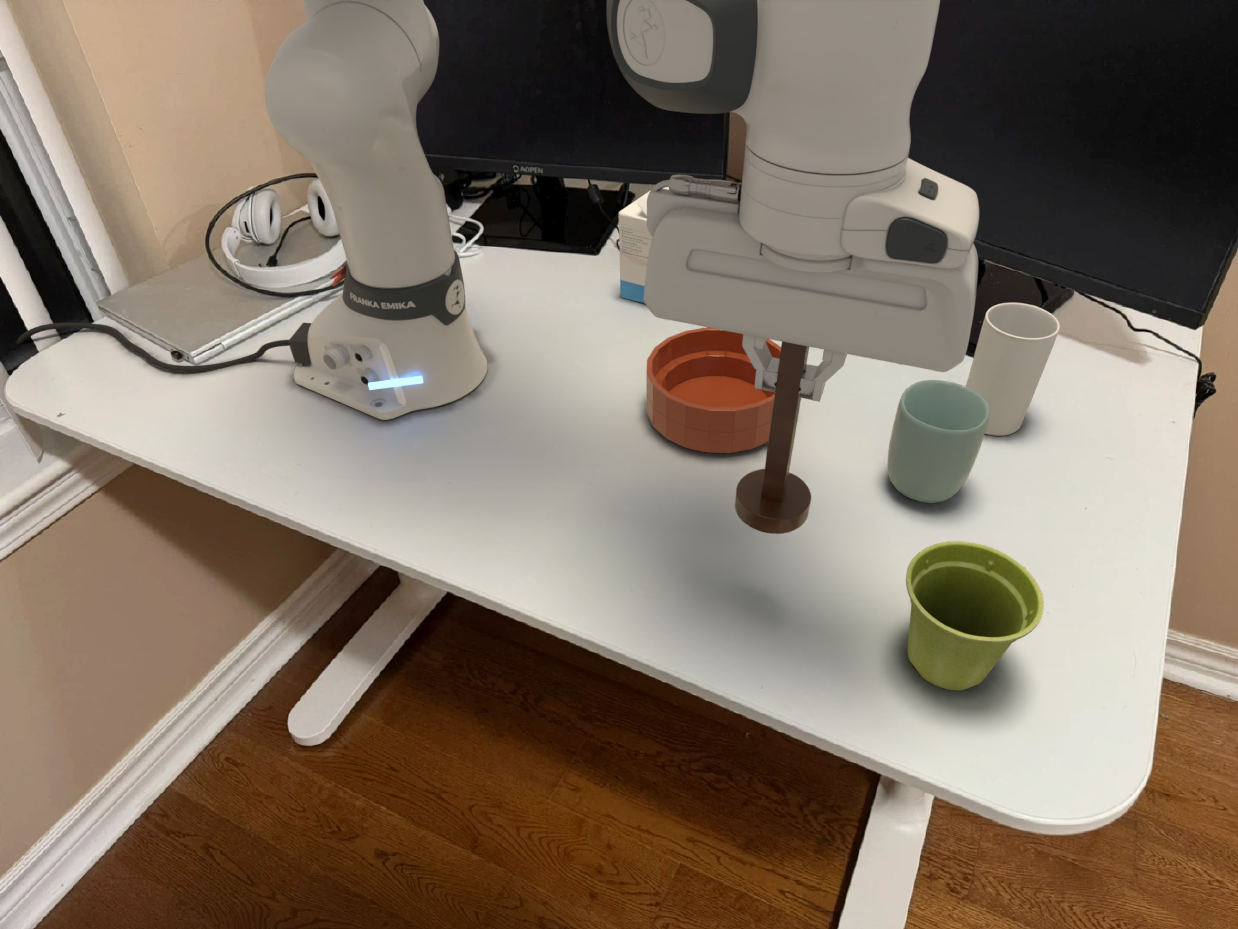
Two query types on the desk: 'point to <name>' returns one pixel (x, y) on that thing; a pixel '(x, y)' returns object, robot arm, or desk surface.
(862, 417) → the desk surface
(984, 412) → the cup
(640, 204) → the ink box
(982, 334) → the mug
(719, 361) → the bowl
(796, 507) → the brown post stand
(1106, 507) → the desk surface
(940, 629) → the plant pot
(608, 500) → the desk surface
